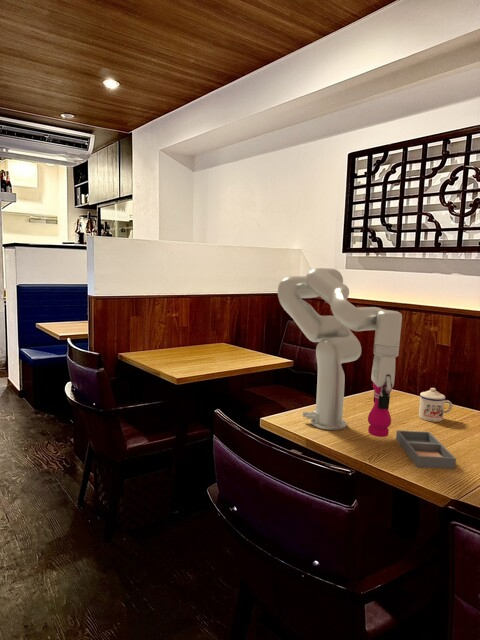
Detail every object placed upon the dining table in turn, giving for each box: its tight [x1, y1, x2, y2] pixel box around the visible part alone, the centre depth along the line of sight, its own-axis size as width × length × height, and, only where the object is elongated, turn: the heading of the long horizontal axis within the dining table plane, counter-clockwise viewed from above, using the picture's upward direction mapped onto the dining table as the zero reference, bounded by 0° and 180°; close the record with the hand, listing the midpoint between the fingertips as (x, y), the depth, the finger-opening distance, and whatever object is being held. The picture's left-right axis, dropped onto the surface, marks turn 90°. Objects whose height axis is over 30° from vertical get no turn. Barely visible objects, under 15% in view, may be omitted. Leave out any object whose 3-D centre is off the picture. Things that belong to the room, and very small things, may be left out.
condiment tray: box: [395, 429, 457, 470], centre depth 140 cm, size 11×21×3 cm, turn 177°
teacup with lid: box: [418, 387, 453, 423], centre depth 173 cm, size 12×9×12 cm
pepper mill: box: [367, 381, 394, 438], centre depth 145 cm, size 7×7×20 cm
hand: (380, 405), depth 145 cm, fingers closed on pepper mill, 5 cm apart
